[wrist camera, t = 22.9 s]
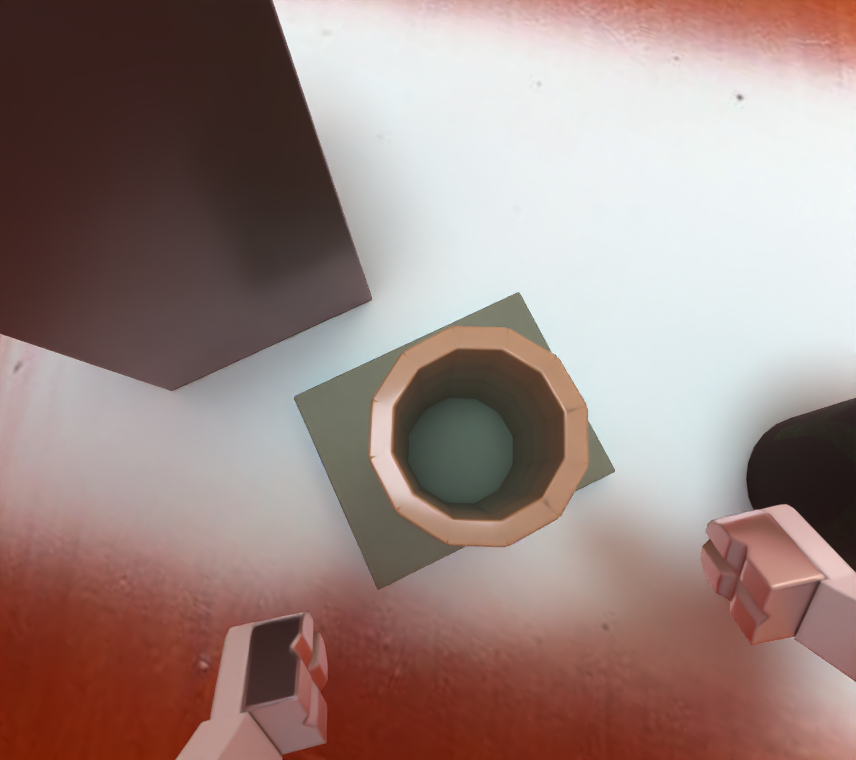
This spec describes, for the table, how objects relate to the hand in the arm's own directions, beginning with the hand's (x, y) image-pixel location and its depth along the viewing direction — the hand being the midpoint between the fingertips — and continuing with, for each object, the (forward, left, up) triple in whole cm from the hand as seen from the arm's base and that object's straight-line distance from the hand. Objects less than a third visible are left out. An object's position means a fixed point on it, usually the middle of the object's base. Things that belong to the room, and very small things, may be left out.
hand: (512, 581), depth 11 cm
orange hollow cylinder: (+1, +3, -9) cm, 10 cm away
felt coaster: (+1, +4, -10) cm, 11 cm away
